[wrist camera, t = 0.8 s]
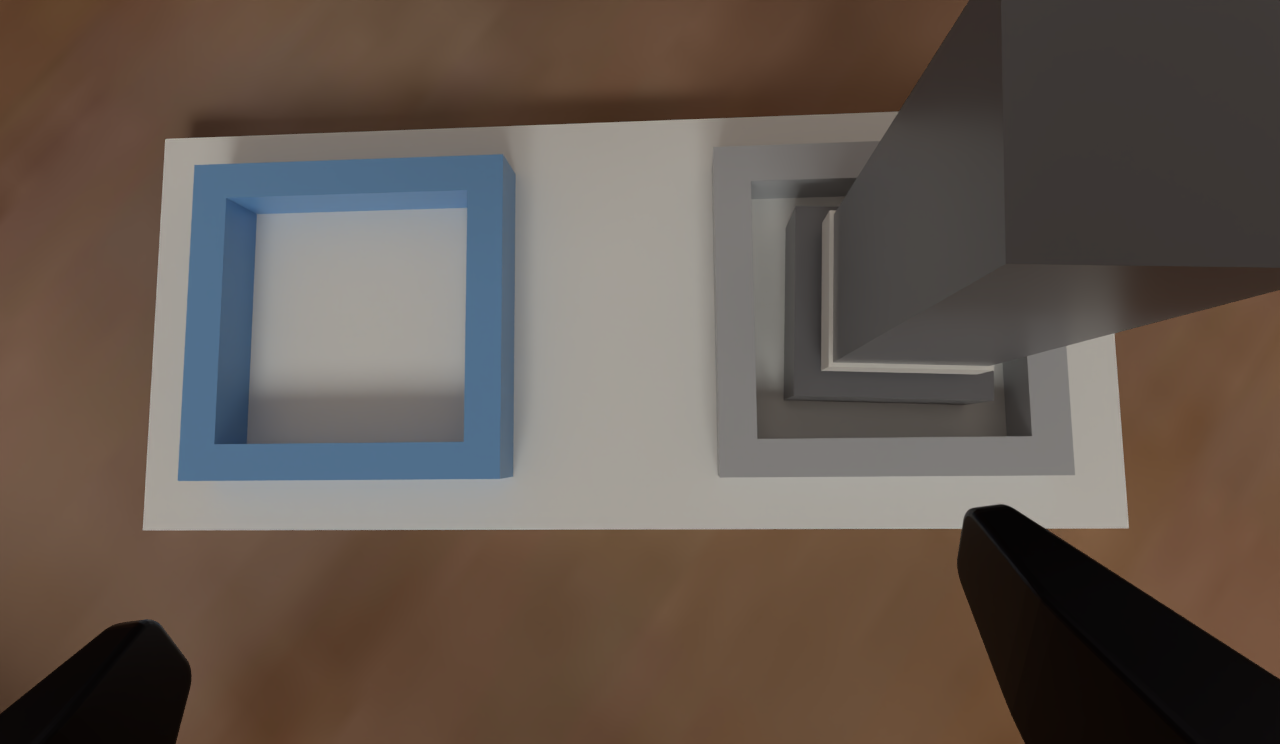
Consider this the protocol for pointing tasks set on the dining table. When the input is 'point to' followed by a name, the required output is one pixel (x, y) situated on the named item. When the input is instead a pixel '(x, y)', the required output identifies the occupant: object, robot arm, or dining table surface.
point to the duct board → (558, 344)
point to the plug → (1043, 197)
